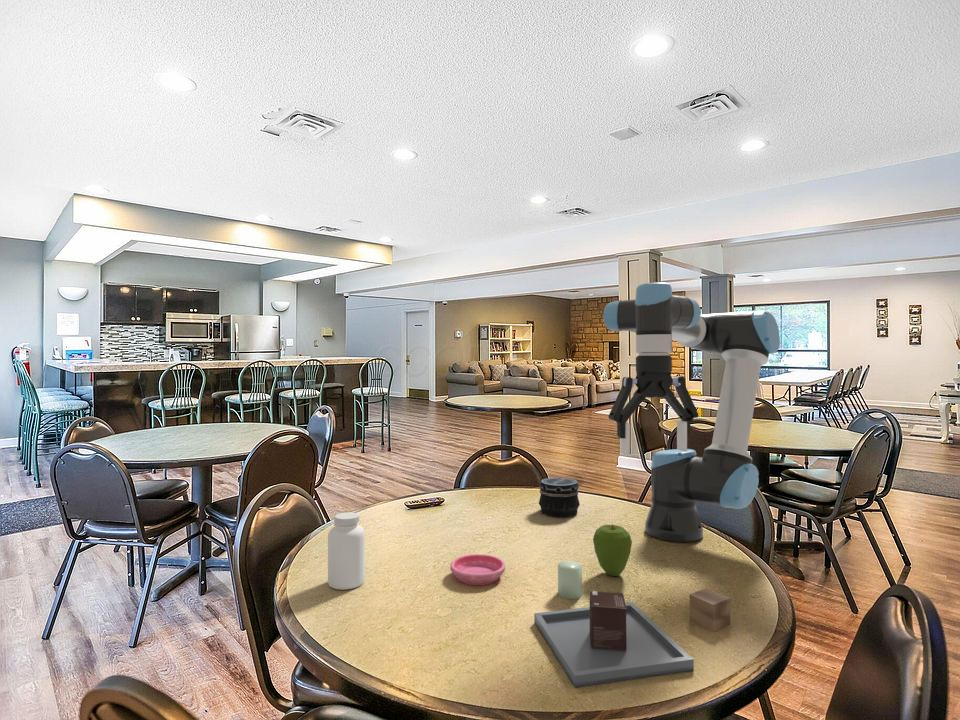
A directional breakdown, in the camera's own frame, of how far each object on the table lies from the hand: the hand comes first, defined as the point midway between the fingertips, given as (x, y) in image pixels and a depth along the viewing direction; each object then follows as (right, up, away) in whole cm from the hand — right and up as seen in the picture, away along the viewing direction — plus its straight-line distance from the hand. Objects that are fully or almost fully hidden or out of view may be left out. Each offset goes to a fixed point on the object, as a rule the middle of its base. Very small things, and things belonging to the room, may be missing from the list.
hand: (653, 451), depth 118 cm
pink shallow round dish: (-38, -29, +4) cm, 49 cm away
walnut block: (+5, -29, -17) cm, 34 cm away
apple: (-8, -29, +5) cm, 30 cm away
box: (-16, -29, -25) cm, 41 cm away
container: (-13, -28, +53) cm, 61 cm away
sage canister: (-19, -29, -5) cm, 35 cm away
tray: (-16, -29, -25) cm, 41 cm away
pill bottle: (-67, -29, +1) cm, 74 cm away
